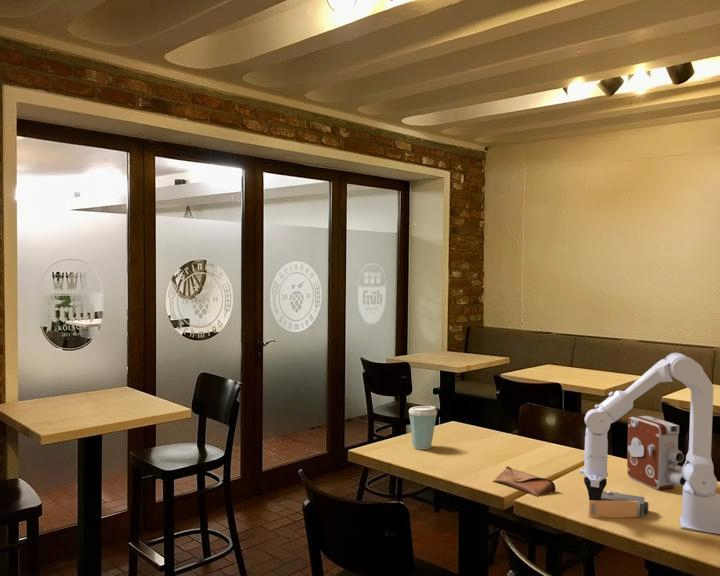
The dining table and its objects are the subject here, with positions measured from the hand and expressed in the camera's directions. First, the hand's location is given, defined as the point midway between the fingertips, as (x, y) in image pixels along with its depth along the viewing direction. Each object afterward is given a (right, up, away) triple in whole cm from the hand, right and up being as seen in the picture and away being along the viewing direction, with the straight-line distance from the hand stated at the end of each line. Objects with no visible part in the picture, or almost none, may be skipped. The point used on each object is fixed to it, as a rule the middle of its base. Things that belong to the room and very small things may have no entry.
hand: (594, 505), depth 165 cm
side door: (+5, -2, -2) cm, 5 cm away
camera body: (+9, -2, +4) cm, 10 cm away
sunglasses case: (-14, -2, +22) cm, 26 cm away
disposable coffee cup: (-40, -1, +63) cm, 75 cm away
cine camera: (+28, -3, +24) cm, 37 cm away
